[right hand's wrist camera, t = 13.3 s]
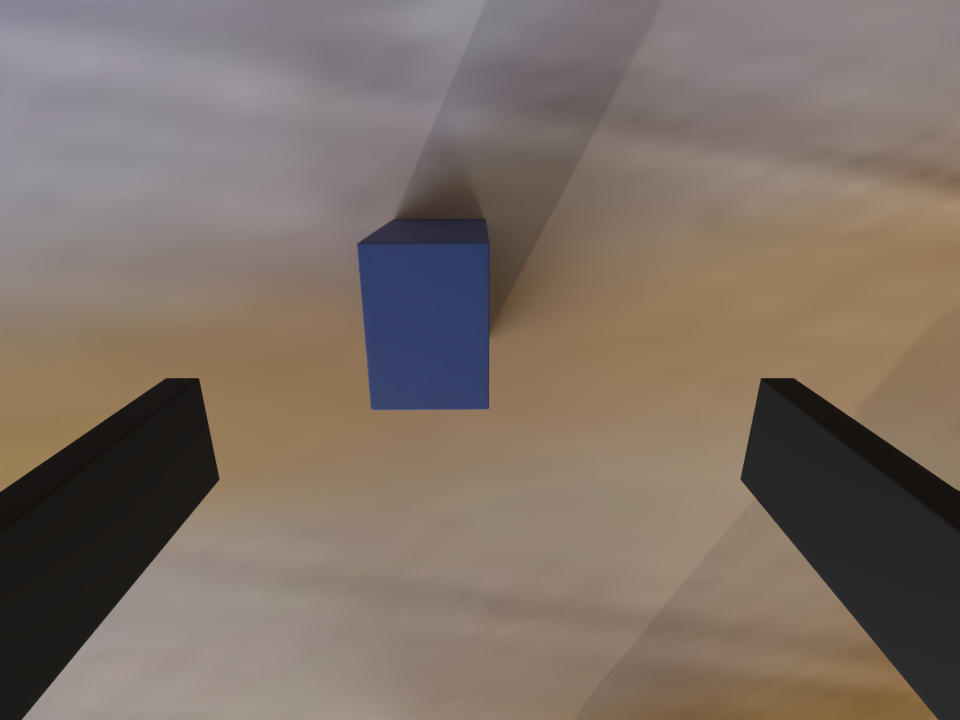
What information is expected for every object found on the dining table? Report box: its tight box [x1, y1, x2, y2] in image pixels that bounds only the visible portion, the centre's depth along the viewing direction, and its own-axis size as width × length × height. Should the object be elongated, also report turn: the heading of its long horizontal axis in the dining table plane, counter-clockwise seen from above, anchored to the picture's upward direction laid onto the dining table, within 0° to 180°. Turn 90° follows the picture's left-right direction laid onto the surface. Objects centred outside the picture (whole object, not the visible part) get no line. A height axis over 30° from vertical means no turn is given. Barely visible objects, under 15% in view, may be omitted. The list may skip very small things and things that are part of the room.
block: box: [357, 219, 489, 410], centre depth 24 cm, size 7×5×8 cm
